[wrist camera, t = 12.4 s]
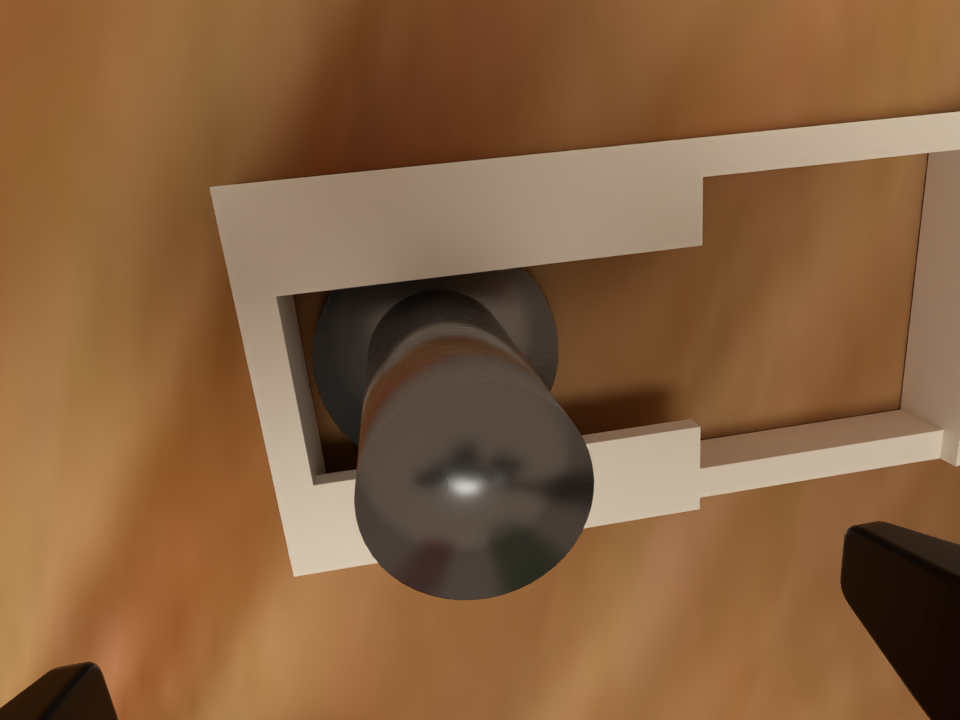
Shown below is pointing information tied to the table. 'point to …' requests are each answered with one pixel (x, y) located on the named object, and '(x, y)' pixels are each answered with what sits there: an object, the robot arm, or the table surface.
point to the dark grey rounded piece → (455, 429)
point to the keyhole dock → (561, 238)
